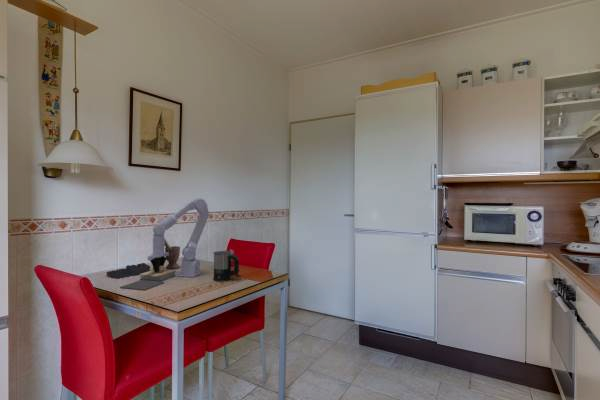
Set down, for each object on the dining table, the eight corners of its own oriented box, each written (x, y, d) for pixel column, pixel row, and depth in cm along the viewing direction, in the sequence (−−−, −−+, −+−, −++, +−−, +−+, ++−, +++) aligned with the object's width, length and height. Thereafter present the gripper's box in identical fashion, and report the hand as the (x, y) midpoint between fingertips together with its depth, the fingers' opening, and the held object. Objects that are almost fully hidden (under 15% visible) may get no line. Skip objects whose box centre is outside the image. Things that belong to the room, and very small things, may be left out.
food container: (223, 268, 193) (224, 252, 193) (216, 267, 196) (217, 251, 196) (237, 265, 203) (237, 250, 203) (230, 264, 207) (231, 249, 207)
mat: (164, 282, 158) (164, 281, 158) (144, 290, 144) (144, 289, 144) (141, 280, 161) (141, 279, 161) (119, 288, 147) (119, 287, 148)
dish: (174, 276, 172) (174, 272, 172) (160, 281, 161) (160, 277, 161) (156, 274, 175) (156, 270, 175) (140, 279, 164) (140, 275, 164)
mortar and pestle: (166, 271, 183) (166, 237, 183) (157, 269, 187) (157, 236, 188) (182, 267, 193) (183, 235, 193) (173, 266, 197) (174, 234, 197)
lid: (176, 271, 173) (176, 264, 173) (160, 277, 160) (160, 269, 160) (156, 270, 176) (156, 262, 176) (139, 275, 163) (139, 267, 163)
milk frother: (212, 282, 162) (212, 253, 162) (214, 274, 177) (214, 248, 177) (239, 281, 164) (240, 253, 164) (239, 274, 180) (240, 248, 180)
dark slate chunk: (102, 276, 171) (102, 267, 171) (140, 269, 190) (140, 261, 190) (116, 280, 163) (116, 271, 163) (155, 272, 182) (155, 264, 182)
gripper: (161, 244, 176) (160, 268, 176) (142, 247, 162) (142, 273, 162) (172, 244, 174) (171, 268, 174) (154, 248, 160) (153, 274, 160)
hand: (158, 271), depth 168 cm, fingers closed on lid, 2 cm apart
